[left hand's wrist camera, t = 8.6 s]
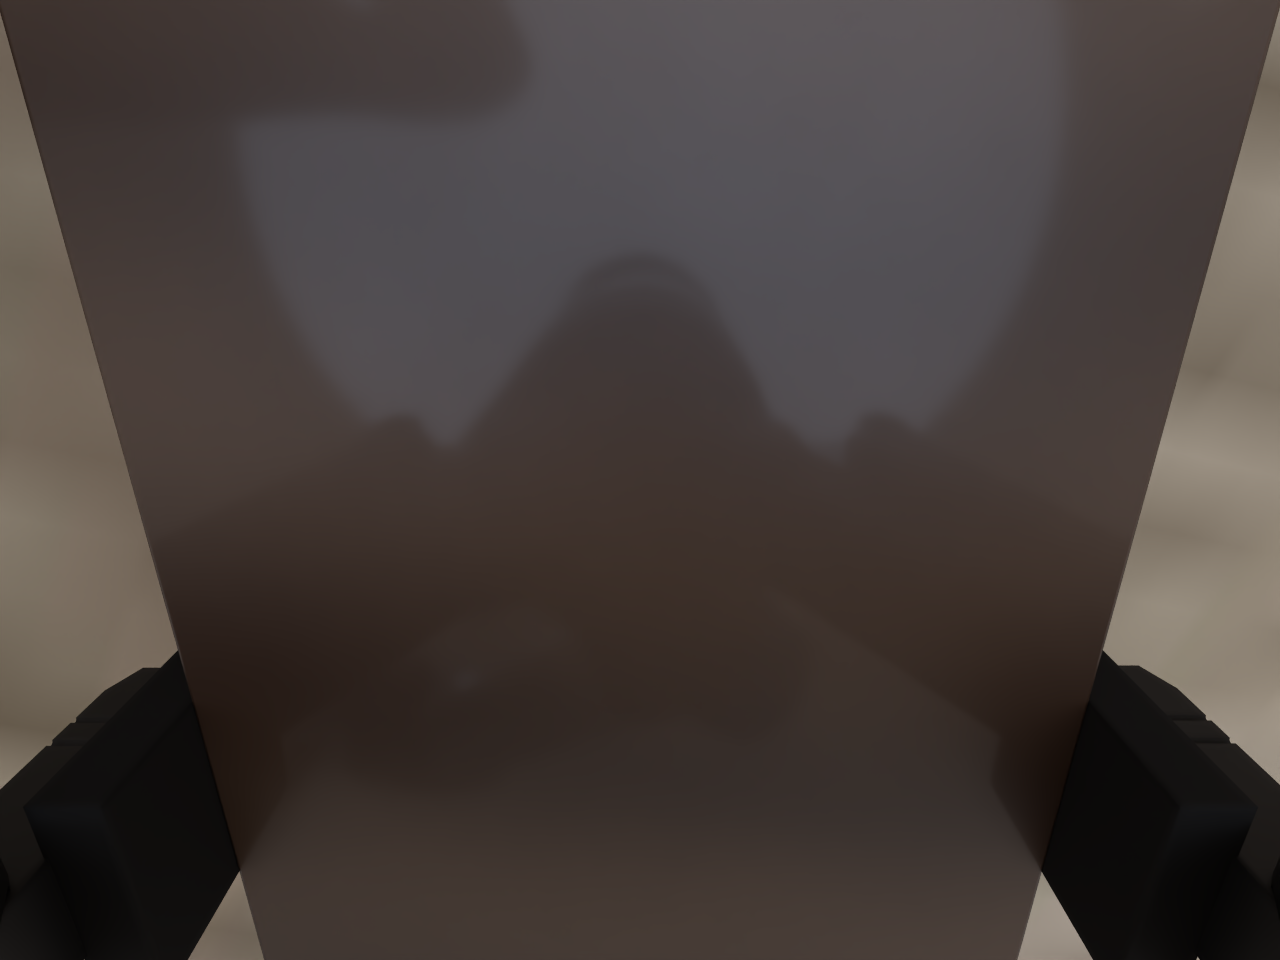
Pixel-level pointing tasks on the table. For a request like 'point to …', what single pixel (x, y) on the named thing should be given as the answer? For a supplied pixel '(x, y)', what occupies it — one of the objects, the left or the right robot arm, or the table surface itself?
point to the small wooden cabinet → (640, 438)
